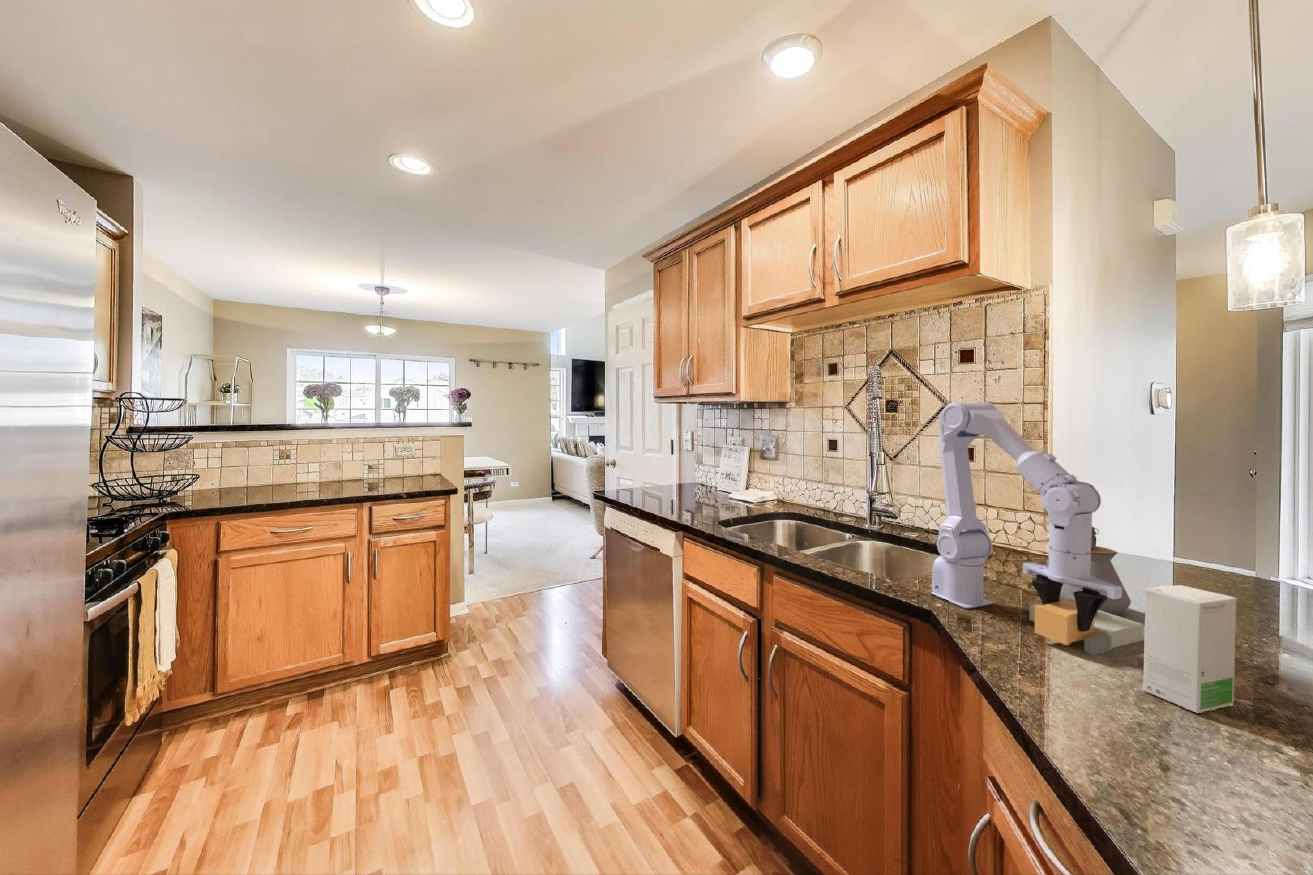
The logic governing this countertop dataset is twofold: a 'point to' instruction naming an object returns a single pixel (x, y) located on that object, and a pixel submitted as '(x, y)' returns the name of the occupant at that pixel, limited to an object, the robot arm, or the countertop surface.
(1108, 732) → the countertop surface
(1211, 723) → the countertop surface
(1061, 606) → the orange lidded tapered block
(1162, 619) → the skincare box
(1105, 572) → the grey faceted tapered shape
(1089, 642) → the grey stand
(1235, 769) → the countertop surface
